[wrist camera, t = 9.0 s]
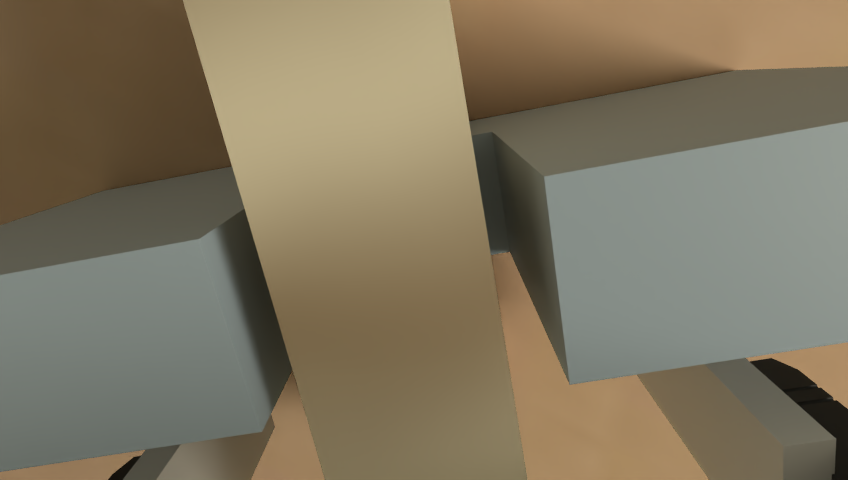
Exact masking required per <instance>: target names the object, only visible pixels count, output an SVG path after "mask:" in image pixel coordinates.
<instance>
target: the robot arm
mask: <svg viewBox="0 0 848 480" xmlns="http://www.w3.org/2000/svg"><path fill="white" fill-rule="evenodd" d="M637 376H638V377H639V379H640V380H641V382H642V383H643V385H644V386H645V387H646V389H647V390H648V392H649V393H650V395H651V396H652V398H653V399H654V400H655V402H656V403H657V405H658V406H659V408H660V409H661V411H662V412H663V413H664V415H665V416H666V418H667V419H668V421H669V422H670V424H671V425H672V426H673V428H674V429H675V431H676V432H677V434H678V435H679V437H680V438H681V439H682V441H683V442H684V444H685V445H686V447H687V448H688V450H689V451H690V452H691V454H692V455H693V457H694V458H695V460H696V461H697V463H698V464H699V465H700V467H701V468H702V470H703V471H704V473H705V474H706V476H707V477H708V478H709V480H848V409H847V408H846V407H844V406H843V405H842V404H841V403H839V402H838V401H837V400H836V401H834V400H833V397H832V396H830V395H829V394H828V393H827V392H825V391H824V390H823V389H822V388H818V387H817V384H815V383H814V382H813V381H812V380H810V379H809V378H808V377H807V376H805V375H804V374H803V373H801V372H800V371H799V370H798V369H795V368H793V367H791V366H788V365H786V364H784V363H781V362H779V361H777V360H774V359H772V358H770V359H763V360H757V361H750V362H749V361H748V360H747V359H746V358H741V359H734V360H728V361H721V362H715V363H708V364H702V365H695V366H689V367H682V368H675V369H669V370H662V371H656V372H649V373H643V374H637ZM274 428H275V426H274V423H273V419H272V416H271V415H270V417H269V419H268V421H267V423H266V425H265V427H264V429H263V431H262V432H257V433H251V434H244V435H238V436H231V437H224V438H218V439H211V440H205V441H198V442H192V443H185V444H179V445H172V446H166V447H159V448H153V449H146V450H145V452H144V453H143V454H142V455H141V456H137V457H133V458H132V459H131V460H130V461H128V462H127V463H126V464H125V465H123V466H122V467H121V468H120V469H119V470H117V471H116V472H115V473H114V474H112V476H111V477H110V478H109V479H108V480H251V478H252V476H253V473H254V471H255V469H256V467H257V465H258V462H259V460H260V458H261V456H262V454H263V452H264V449H265V447H266V445H267V443H268V441H269V438H270V436H271V434H272V432H273V430H274Z"/></svg>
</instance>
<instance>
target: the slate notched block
mask: <svg viewBox="0 0 848 480" xmlns="http://www.w3.org/2000/svg"><path fill="white" fill-rule="evenodd" d="M469 124H470V130H471V136H472V142H473V148H474V154H475V161H476V167H477V173H478V179H479V185H480V191H481V198H482V204H483V210H484V216H485V222H486V228H487V234H488V241H489V247H490V253H491V255H493V254H499V253H505V252H510V253H511V255H512V257H513V259H514V262H515V264H516V266H517V268H518V271H519V273H520V275H521V277H522V279H523V282H524V284H525V286H526V288H527V291H528V293H529V295H530V297H531V299H532V302H533V304H534V306H535V308H536V311H537V313H538V315H539V317H540V320H541V322H542V324H543V326H544V328H545V331H546V333H547V335H548V337H549V340H550V342H551V344H552V346H553V348H554V351H555V353H556V355H557V357H558V360H559V362H560V364H561V366H562V368H563V371H564V373H565V375H566V377H567V380H568V382H569V384H570V385H571V384H577V383H584V382H591V381H597V380H604V379H610V378H617V377H623V376H630V375H636V374H643V373H649V372H656V371H662V370H669V369H675V368H682V367H689V366H695V365H702V364H708V363H715V362H721V361H728V360H734V359H741V358H747V357H754V356H760V355H767V354H774V353H780V352H787V351H793V350H800V349H806V348H813V347H819V346H826V345H832V344H839V343H845V342H848V66H846V67H817V68H788V69H759V70H735V71H730V72H725V73H720V74H714V75H709V76H704V77H699V78H693V79H688V80H683V81H678V82H672V83H667V84H662V85H657V86H651V87H646V88H641V89H636V90H631V91H625V92H620V93H615V94H610V95H604V96H599V97H594V98H589V99H583V100H578V101H573V102H568V103H562V104H557V105H552V106H547V107H541V108H536V109H531V110H526V111H520V112H515V113H510V114H505V115H499V116H494V117H489V118H484V119H478V120H473V121H469ZM291 371H292V367H291V363H290V360H289V356H288V353H287V350H286V346H285V343H284V340H283V336H282V333H281V330H280V326H279V323H278V319H277V316H276V313H275V309H274V306H273V303H272V299H271V296H270V292H269V289H268V286H267V282H266V279H265V276H264V272H263V269H262V266H261V262H260V259H259V255H258V252H257V249H256V245H255V242H254V239H253V235H252V232H251V228H250V225H249V222H248V218H247V215H246V212H245V208H244V205H243V202H242V198H241V195H240V191H239V188H238V185H237V181H236V178H235V175H234V171H233V168H232V167H226V168H221V169H216V170H211V171H205V172H200V173H195V174H190V175H184V176H179V177H174V178H169V179H163V180H158V181H153V182H148V183H142V184H137V185H132V186H127V187H121V188H116V189H111V190H106V191H101V192H98V193H95V194H92V195H90V196H87V197H84V198H81V199H78V200H75V201H72V202H69V203H66V204H63V205H60V206H57V207H54V208H51V209H48V210H45V211H42V212H39V213H36V214H33V215H30V216H27V217H24V218H21V219H18V220H15V221H12V222H9V223H6V224H3V225H0V472H2V471H9V470H15V469H22V468H28V467H35V466H41V465H48V464H55V463H61V462H68V461H74V460H81V459H87V458H94V457H100V456H107V455H113V454H120V453H126V452H133V451H140V450H146V449H153V448H159V447H166V446H172V445H179V444H185V443H192V442H198V441H205V440H211V439H218V438H224V437H231V436H238V435H244V434H251V433H257V432H262V431H263V429H264V427H265V425H266V423H267V421H268V419H269V417H270V415H271V413H272V410H273V408H274V406H275V404H276V402H277V400H278V398H279V396H280V394H281V392H282V390H283V388H284V386H285V384H286V382H287V380H288V378H289V376H290V374H291Z"/></svg>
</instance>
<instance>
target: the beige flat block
mask: <svg viewBox="0 0 848 480" xmlns="http://www.w3.org/2000/svg"><path fill="white" fill-rule="evenodd" d="M183 3H184V6H185V10H186V13H187V16H188V20H189V23H190V26H191V30H192V33H193V36H194V40H195V43H196V47H197V50H198V53H199V57H200V60H201V63H202V67H203V70H204V74H205V77H206V80H207V84H208V87H209V90H210V94H211V97H212V100H213V104H214V107H215V111H216V114H217V117H218V121H219V124H220V127H221V131H222V134H223V138H224V141H225V144H226V148H227V151H228V154H229V158H230V161H231V164H232V168H233V171H234V175H235V178H236V181H237V185H238V188H239V191H240V195H241V198H242V202H243V205H244V208H245V212H246V215H247V218H248V222H249V225H250V228H251V232H252V235H253V239H254V242H255V245H256V249H257V252H258V255H259V259H260V262H261V266H262V269H263V272H264V276H265V279H266V282H267V286H268V289H269V292H270V296H271V299H272V303H273V306H274V309H275V313H276V316H277V319H278V323H279V326H280V330H281V333H282V336H283V340H284V343H285V346H286V350H287V353H288V356H289V360H290V363H291V367H292V370H293V373H294V377H295V380H296V383H297V387H298V390H299V394H300V397H301V400H302V404H303V407H304V410H305V414H306V417H307V420H308V424H309V427H310V431H311V434H312V437H313V441H314V444H315V447H316V451H317V454H318V458H319V461H320V464H321V468H322V471H323V474H324V478H325V480H527V474H526V468H525V462H524V456H523V450H522V444H521V437H520V431H519V425H518V419H517V413H516V407H515V401H514V394H513V388H512V382H511V376H510V370H509V364H508V357H507V351H506V345H505V339H504V333H503V327H502V321H501V314H500V308H499V302H498V296H497V290H496V284H495V278H494V271H493V265H492V259H491V253H490V247H489V241H488V234H487V228H486V222H485V216H484V210H483V204H482V198H481V191H480V185H479V179H478V173H477V167H476V161H475V154H474V148H473V142H472V136H471V130H470V124H469V118H468V111H467V105H466V99H465V93H464V87H463V81H462V74H461V68H460V62H459V56H458V50H457V44H456V38H455V31H454V25H453V19H452V13H451V7H450V1H449V0H183Z"/></svg>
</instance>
